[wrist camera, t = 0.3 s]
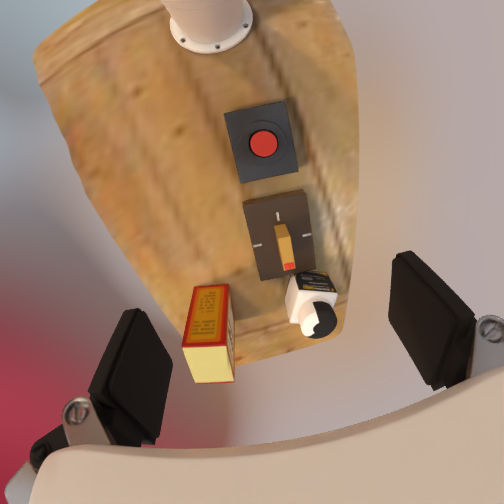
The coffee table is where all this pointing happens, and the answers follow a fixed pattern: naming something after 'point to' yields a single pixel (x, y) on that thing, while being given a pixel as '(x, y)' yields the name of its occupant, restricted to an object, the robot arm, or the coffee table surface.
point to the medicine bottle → (312, 303)
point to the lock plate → (264, 237)
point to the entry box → (252, 122)
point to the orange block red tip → (285, 247)
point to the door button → (263, 143)
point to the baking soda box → (210, 335)
